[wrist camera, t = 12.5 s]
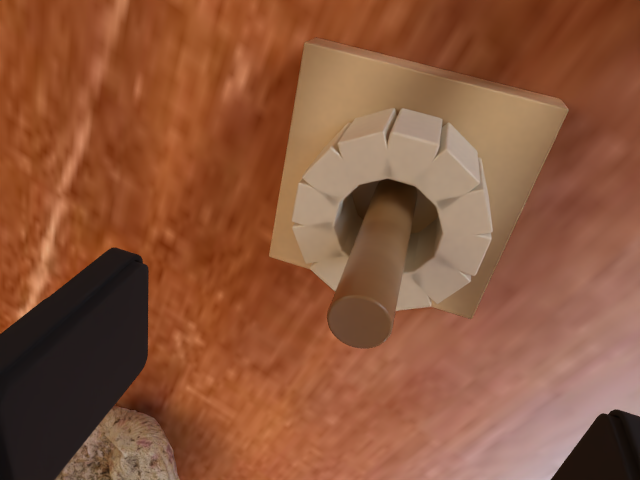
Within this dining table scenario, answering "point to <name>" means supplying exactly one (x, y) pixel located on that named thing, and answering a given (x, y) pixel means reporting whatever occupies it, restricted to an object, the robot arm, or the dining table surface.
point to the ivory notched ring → (410, 168)
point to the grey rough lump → (123, 450)
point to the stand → (399, 198)
